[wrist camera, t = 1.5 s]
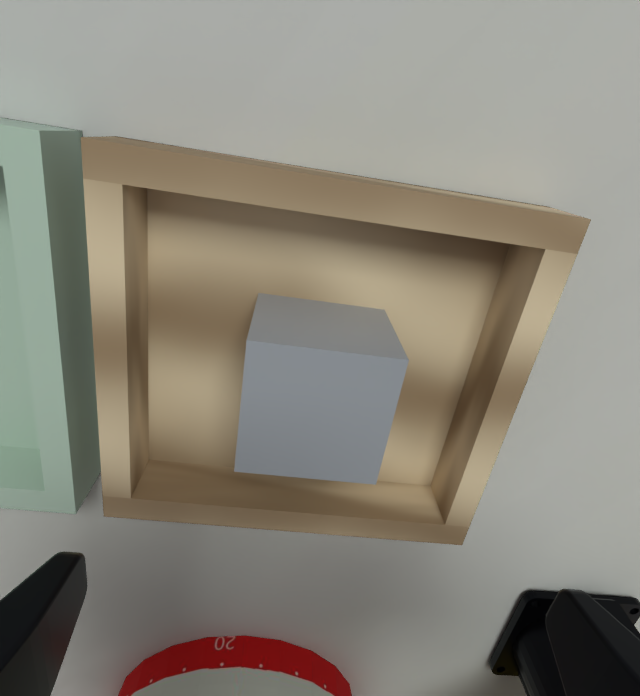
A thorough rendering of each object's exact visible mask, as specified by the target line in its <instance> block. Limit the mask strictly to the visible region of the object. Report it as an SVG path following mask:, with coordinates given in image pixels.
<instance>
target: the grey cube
mask: <svg viewBox="0 0 640 696" xmlns="http://www.w3.org/2000/svg"><path fill="white" fill-rule="evenodd" d="M408 362H409V359H408V357H407V355H406V353H405V351H404V349H403V347H402V345H401V343H400V341H399V338H398V336H397V334H396V332H395V330H394V328H393V326H392V324H391V322H390V320H389V318H388V316H387V314H386V312H385V310H384V309H376V308H369V307H361V306H354V305H346V304H339V303H331V302H324V301H316V300H309V299H301V298H294V297H286V296H279V295H271V294H264V293H258V297H257V301H256V305H255V309H254V313H253V317H252V321H251V325H250V329H249V333H248V336H247V341H246V351H245V362H244V372H243V383H242V393H241V404H240V415H239V425H238V436H237V446H236V457H235V467H234V472H243V473H254V474H265V475H276V476H287V477H298V478H308V479H319V480H330V481H341V482H352V483H362V484H373V485H376V482H377V479H378V475H379V471H380V467H381V464H382V460H383V456H384V452H385V448H386V445H387V441H388V437H389V433H390V430H391V426H392V422H393V418H394V415H395V411H396V407H397V403H398V399H399V396H400V392H401V388H402V384H403V381H404V377H405V373H406V369H407V366H408Z"/></svg>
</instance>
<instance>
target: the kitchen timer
mask: <svg viewBox="0 0 640 696" xmlns="http://www.w3.org/2000/svg"><path fill="white" fill-rule="evenodd" d="M118 696H352V694H351V689H350V685H349V683H348V682H347V680H346V679H345V678H344V677H343V675H342V674H341V673H340V672H339V670H338V669H337V668H336V666H334V665H333V664H331V663H330V662H328V661H327V660H325V659H323V658H322V657H320V656H319V655H317V654H316V653H314V652H313V651H310V650H308V649H305V648H302V647H299V646H296V645H293V644H290V643H287V642H284V641H281V640H275V639H267V638H259V637H252V636H225V637H207V638H202V639H198V640H194V641H190V642H186V643H182V644H178V645H174V646H171V647H169V648H167V649H165V650H163V651H161V652H159V653H157V654H155V655H153V656H151V657H149V658H147V659H145V660H144V661H143V662H142V663H141V664H140V665H138V666H137V667H136V668H135V669H134V670H133V671H132V672H131V673H130V674H129V675H128V676H127V677H126V679H125V681H124V683H123V686H122V688H121V690H120V693H119V695H118Z"/></svg>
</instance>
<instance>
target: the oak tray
mask: <svg viewBox="0 0 640 696" xmlns="http://www.w3.org/2000/svg"><path fill="white" fill-rule="evenodd" d="M81 152H82V168H83V185H84V201H85V217H86V234H87V250H88V266H89V283H90V299H91V315H92V332H93V348H94V364H95V381H96V397H97V413H98V430H99V446H100V462H101V479H102V495H103V511H104V516H105V517H117V518H130V519H142V520H155V521H167V522H180V523H192V524H205V525H217V526H230V527H242V528H255V529H267V530H280V531H292V532H305V533H317V534H330V535H342V536H355V537H367V538H380V539H392V540H405V541H417V542H430V543H442V544H455V545H462V544H463V541H464V539H465V536H466V534H467V531H468V529H469V526H470V524H471V521H472V519H473V516H474V514H475V511H476V509H477V506H478V504H479V501H480V499H481V496H482V493H483V491H484V488H485V486H486V483H487V481H488V478H489V476H490V473H491V471H492V468H493V466H494V463H495V461H496V458H497V456H498V453H499V451H500V448H501V446H502V443H503V440H504V438H505V435H506V433H507V430H508V428H509V425H510V423H511V420H512V418H513V415H514V413H515V410H516V408H517V405H518V403H519V400H520V398H521V395H522V393H523V390H524V387H525V385H526V382H527V380H528V377H529V375H530V372H531V370H532V367H533V365H534V362H535V360H536V357H537V355H538V352H539V350H540V347H541V345H542V342H543V340H544V337H545V334H546V332H547V329H548V327H549V324H550V322H551V319H552V317H553V314H554V312H555V309H556V307H557V304H558V302H559V299H560V297H561V294H562V292H563V289H564V286H565V284H566V281H567V279H568V276H569V274H570V271H571V269H572V266H573V264H574V261H575V259H576V256H577V254H578V251H579V249H580V246H581V244H582V241H583V239H584V236H585V233H586V231H587V228H588V226H589V223H590V221H591V220H590V219H587V218H584V217H580V216H577V215H574V214H570V213H567V212H564V211H560V210H557V209H554V208H550V207H546V206H540V205H534V204H528V203H522V202H515V201H509V200H503V199H497V198H491V197H485V196H479V195H473V194H466V193H460V192H454V191H448V190H442V189H436V188H430V187H423V186H417V185H411V184H405V183H399V182H393V181H387V180H381V179H374V178H368V177H362V176H356V175H350V174H344V173H338V172H332V171H325V170H319V169H313V168H307V167H301V166H295V165H289V164H282V163H276V162H270V161H264V160H258V159H252V158H246V157H240V156H233V155H227V154H221V153H215V152H209V151H203V150H197V149H190V148H184V147H178V146H172V145H166V144H160V143H154V142H148V141H141V140H135V139H129V138H123V137H117V136H112V137H81ZM258 293H264V294H271V295H279V296H286V297H294V298H301V299H309V300H316V301H324V302H331V303H339V304H346V305H354V306H361V307H369V308H376V309H384V310H385V312H386V314H387V316H388V318H389V320H390V322H391V324H392V326H393V328H394V330H395V332H396V334H397V336H398V338H399V341H400V343H401V345H402V347H403V349H404V351H405V353H406V355H407V357H408V359H409V362H408V366H407V369H406V373H405V377H404V381H403V384H402V388H401V392H400V396H399V399H398V403H397V407H396V411H395V415H394V418H393V422H392V426H391V430H390V433H389V437H388V441H387V445H386V448H385V452H384V456H383V460H382V464H381V467H380V471H379V475H378V479H377V482H376V485H373V484H362V483H352V482H341V481H330V480H319V479H308V478H298V477H287V476H276V475H265V474H254V473H243V472H234V467H235V457H236V446H237V436H238V425H239V415H240V404H241V393H242V383H243V372H244V362H245V351H246V341H247V336H248V333H249V329H250V325H251V321H252V317H253V313H254V309H255V305H256V301H257V297H258Z"/></svg>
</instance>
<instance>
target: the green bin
mask: <svg viewBox="0 0 640 696" xmlns="http://www.w3.org/2000/svg"><path fill="white" fill-rule="evenodd" d="M81 137H82V131H80V130H74V129H68V128H62V127H56V126H49V125H43V124H37V123H31V122H25V121H19V120H13V119H7V118H0V508H5V509H18V510H30V511H43V512H55V513H67V514H76V513H77V511H78V510H79V508H80V506H81V505H82V503H83V501H84V499H85V498H86V496H87V494H88V493H89V491H90V489H91V487H92V486H93V484H94V482H95V481H96V479H97V477H98V476H99V474H100V472H101V462H100V446H99V430H98V413H97V397H96V381H95V364H94V348H93V332H92V315H91V299H90V283H89V266H88V250H87V234H86V217H85V201H84V185H83V168H82V152H81Z"/></svg>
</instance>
